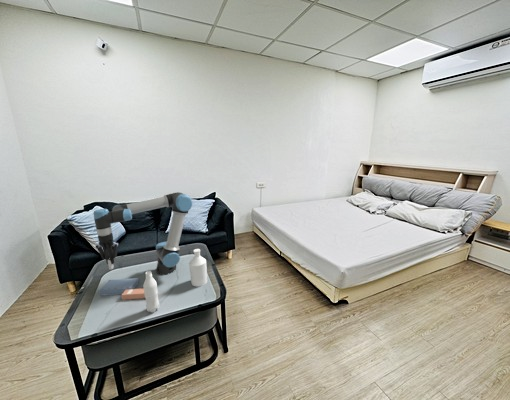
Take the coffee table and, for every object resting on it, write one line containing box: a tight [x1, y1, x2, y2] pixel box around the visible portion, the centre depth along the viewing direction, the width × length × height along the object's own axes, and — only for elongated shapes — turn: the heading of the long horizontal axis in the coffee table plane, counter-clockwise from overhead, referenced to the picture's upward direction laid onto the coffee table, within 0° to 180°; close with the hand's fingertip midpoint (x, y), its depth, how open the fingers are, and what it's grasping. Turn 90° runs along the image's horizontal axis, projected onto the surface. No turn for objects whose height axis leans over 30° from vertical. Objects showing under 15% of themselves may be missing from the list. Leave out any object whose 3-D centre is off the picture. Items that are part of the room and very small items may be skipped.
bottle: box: [188, 248, 208, 288], centre depth 154 cm, size 12×12×25 cm
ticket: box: [98, 277, 139, 296], centre depth 150 cm, size 20×12×4 cm, turn 95°
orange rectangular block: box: [121, 288, 146, 301], centre depth 142 cm, size 20×6×4 cm, turn 95°
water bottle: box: [142, 270, 160, 314], centre depth 127 cm, size 7×7×25 cm
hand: (111, 268), depth 138 cm, fingers closed
